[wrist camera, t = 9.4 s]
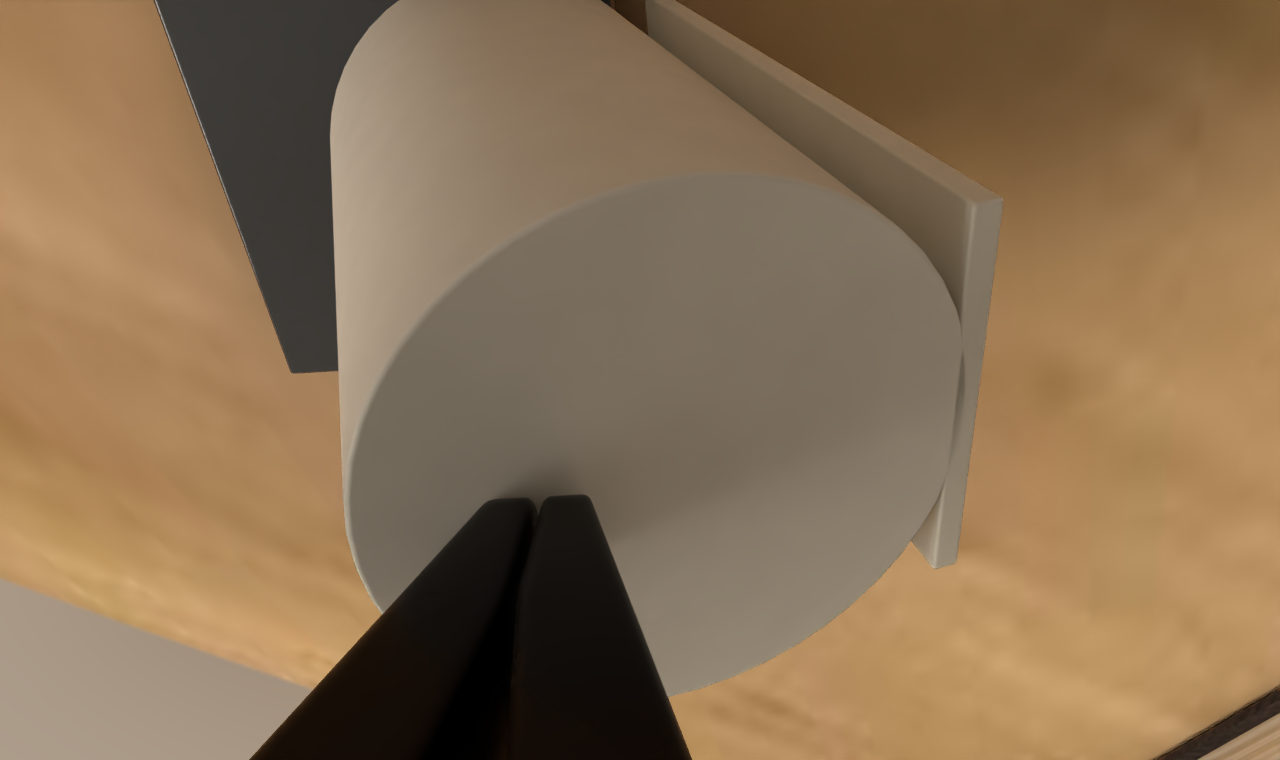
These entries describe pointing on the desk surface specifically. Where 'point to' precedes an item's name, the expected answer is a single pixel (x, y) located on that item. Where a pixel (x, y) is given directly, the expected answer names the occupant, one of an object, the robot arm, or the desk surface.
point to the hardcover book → (1239, 736)
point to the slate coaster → (276, 142)
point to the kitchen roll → (649, 315)
